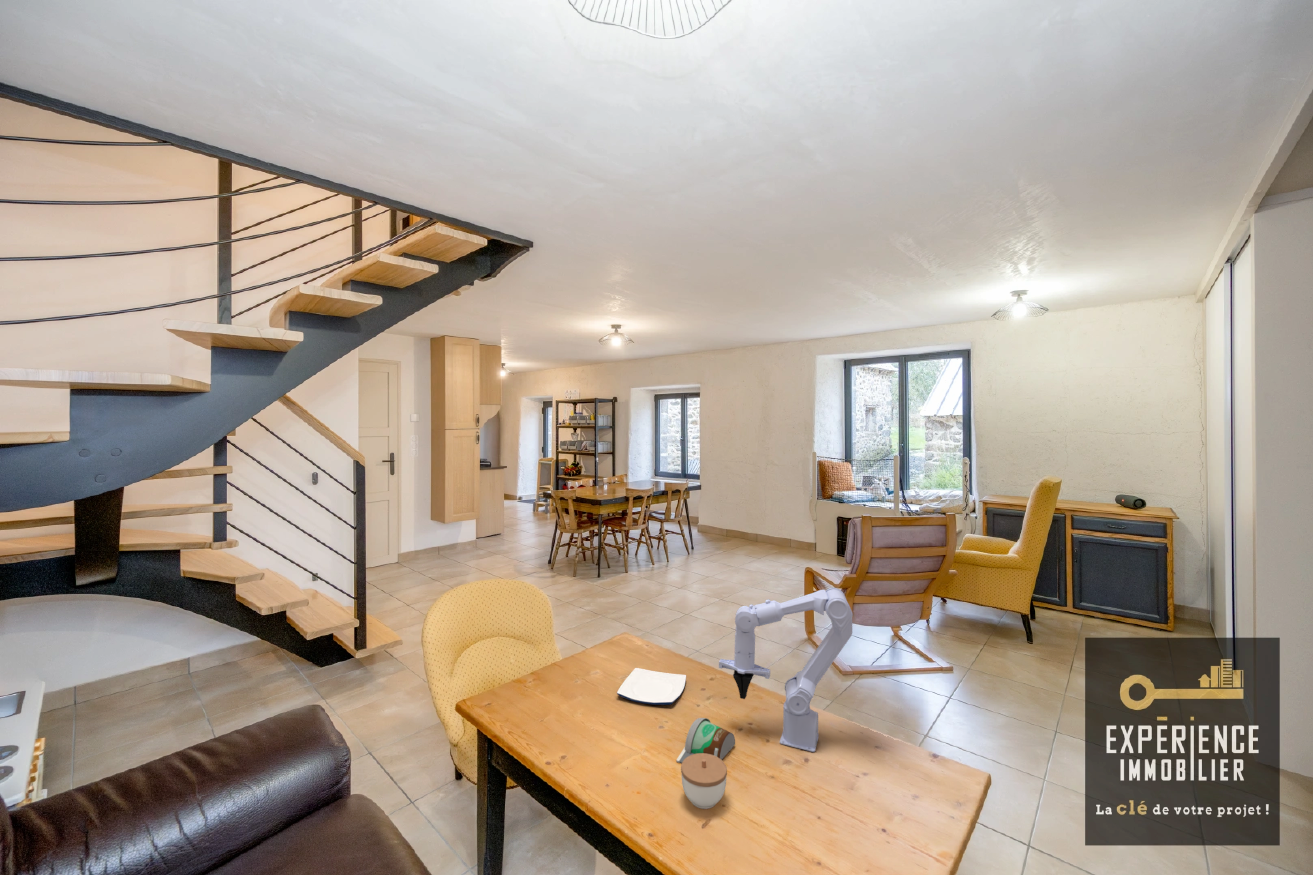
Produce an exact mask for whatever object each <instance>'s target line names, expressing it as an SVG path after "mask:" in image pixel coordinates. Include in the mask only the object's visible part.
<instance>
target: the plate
mask: <svg viewBox="0 0 1313 875" xmlns="http://www.w3.org/2000/svg"><path fill="white" fill-rule="evenodd" d="M686 680H687V675H686V674H679V673H670V672H669V673H668V672H661V671H654V670H649V669H644V668H640V667H635V668H634V669H633V670H632V671H631V673H630V674H629V675H628V676H627V677H626V678H625V679H624V681H623V682H622V684H621V685H620V687H619V688H618V690H617V692H616V695H618V696H619V697H621V698H623V699H626V700H629V701H631V702H635V703H640V704H645V705H646V704H648V705H653V706H654V705H655V706H657V705H658V706H659V705H661V706H665V705H666V706H667V705H668V706H669V705H673V703H674V702H676V701H677V700H678V699H679V698H680V697H681V695H682V693H683V692H684V689H685V687H686V686H685V685H686Z"/></svg>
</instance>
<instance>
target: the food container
mask: <svg viewBox="0 0 1313 875" xmlns="http://www.w3.org/2000/svg"><path fill="white" fill-rule="evenodd" d="M735 745H736V738H735V734H734V733H733V732H731V731H729V730H727V729H725V728H722V727H720V726H718V725H716V724H714V723H712V722H711V721H710V719H709V718H707V717H698V718H696V719H695V720H694V721H693V722H692V724H691V725H690V727H689V729H688V732H687V735H686V738H685V743H684V747H685V750H686V752H688V753H690V754H691V753H694V754H698V753H706V754H711V755H714V756H716V757H718V758H720V759H721V760H722V761H723V759H724V757H726V755H727V754H728V753H729V752H730V751H731V750H732V749H733V748H734V747H735Z"/></svg>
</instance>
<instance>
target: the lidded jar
mask: <svg viewBox="0 0 1313 875" xmlns="http://www.w3.org/2000/svg"><path fill="white" fill-rule="evenodd" d="M680 764H681V765H680V772H681V784H682V789H683V791H684V794H685V796H686V798H687V799H688V801H689V802H691V804H692V805H693V806H694V807H695V808H698V809H702V810H709V809H712V808H713V807H715V806H716V804H718V803H719V802H720V800H722V798H723V797H724V794H725V792H726V791H725V790H726V786H727V775H728V767H727V765H726V763H725V762H724V760H723V759H722V760H721V759H720V758H718V757H716V756H714V755H711V754H706V753H698V754H693V755H690V756H688V757H687V758H685V759H684V761H683V762H682V763H680Z"/></svg>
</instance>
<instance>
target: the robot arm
mask: <svg viewBox="0 0 1313 875" xmlns="http://www.w3.org/2000/svg"><path fill="white" fill-rule="evenodd" d="M808 611H814V612H816V613H817V614H820V615H822V616H824V614H825V612H826V614H827V617H828V618H829V620H830V621H831V628H830V629H829V630H828V632H827V633H826V634H825V637H824V638H823V639H822V640H821V642H820V644H819V645H818V646H817V648H816V649H815V651H814V652H813V654H812V655H811V657H810V658H809V659H808V660H807V662H806V664H805V665H804V667H803V668H802V670H800V671H797V672H796V674H794V676H792V677H790V678H788V679H787V680H786V682H785V685H784V691H785V701H784V702H783V707H782V708H783V718H782V719H783V720H782V721H783V722H782V724H783V725H782V733H781V736H780V740H779V744H781V745H784V746H788V747H792V748H796V749H800V750H805V751H807V752H812V753H815V752H816V749H817V744H818V741H819V738H820V737H819V713H818V712H817V711H815V710H813V709H811V707H810V706H811V705H810V704H811V701H812V699H813V698H814V695H815V692H816V688H817V686H818V684H819V683H820V681H821V680H822V679H823V677H824V675H825V674H826V673H827V671H828V670H829V668H830V667H831V665H832V664H833V663H834V661H835V660H836V658H837V657H838V655H839V654H840V653H841V652H842V650H843V649H844V647H845V645H846V644H847V643H848V642H849V640H850V638H851V637H852V635H853V617H854V616H853V615H854V614H853V610H852V609H851V606H850V604H849V603H848V601H847V598H846V595H845V593H844V592H843V591H842V590H841V589H839V588H836V587H829V588H828V589H820V590H817V591H814V592H812V593H809V594H805V595H802V596H800V597H796V598H793V599H789V600H786V601H783V602H778V601H777V600H771V599H765V602H762V603H757V604H749V606H748V605H743V606H740V607H739V608H738V609H737V610H736V613H735V618H734V623H735V633H734V654H733V656H734V657H733V658H734V659H724V658H720V659H719V661H718V669H727V670H731V671H733V674H732V677H733V679H734V681H735V684H736V686H737V689H738V692H739V693H738V694H739V698H740V699H742V700H746V698H747V695H748V690H749V687H750V684H751V682H752V679H753V678H754V676H759V677H763V678H764V679H768V680H770V677H771V669H770V668H766V667H763V666H761V665H759V664H756V663H755V657H756V656H755V655H756V633H755V629H756V627H763V626H766V625H769V624H773V623H774V624H775V623H777V622H781V621H782V620H783V617H784V616H787V615H792V614H798V613H802V612H808Z"/></svg>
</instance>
